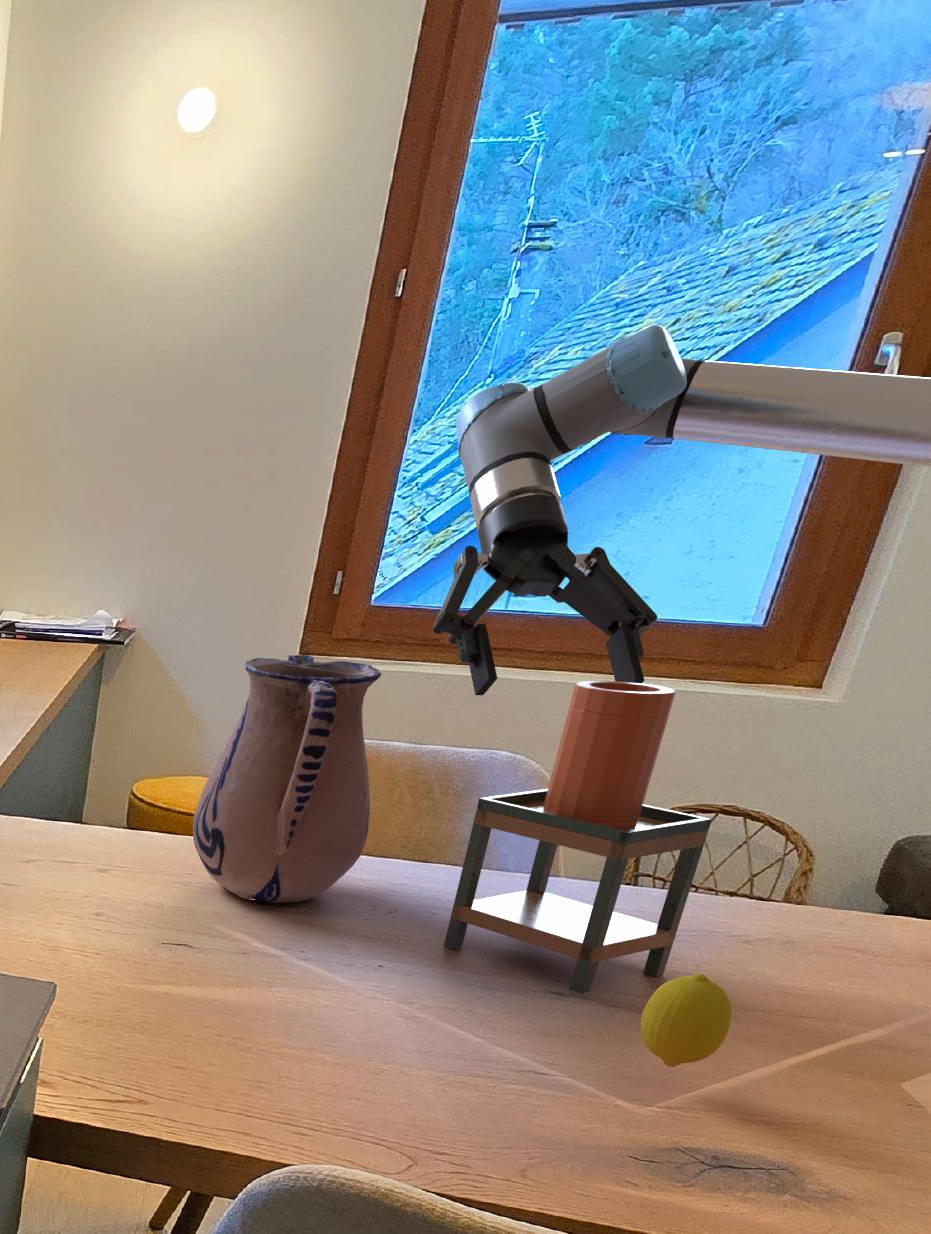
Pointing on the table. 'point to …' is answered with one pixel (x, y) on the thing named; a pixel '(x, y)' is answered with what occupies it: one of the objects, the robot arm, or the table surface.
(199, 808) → the ceramic pitcher
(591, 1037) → the table surface
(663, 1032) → the lemon
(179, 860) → the table surface
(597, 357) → the robot arm
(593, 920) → the rack
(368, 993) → the table surface
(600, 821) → the flower pot
